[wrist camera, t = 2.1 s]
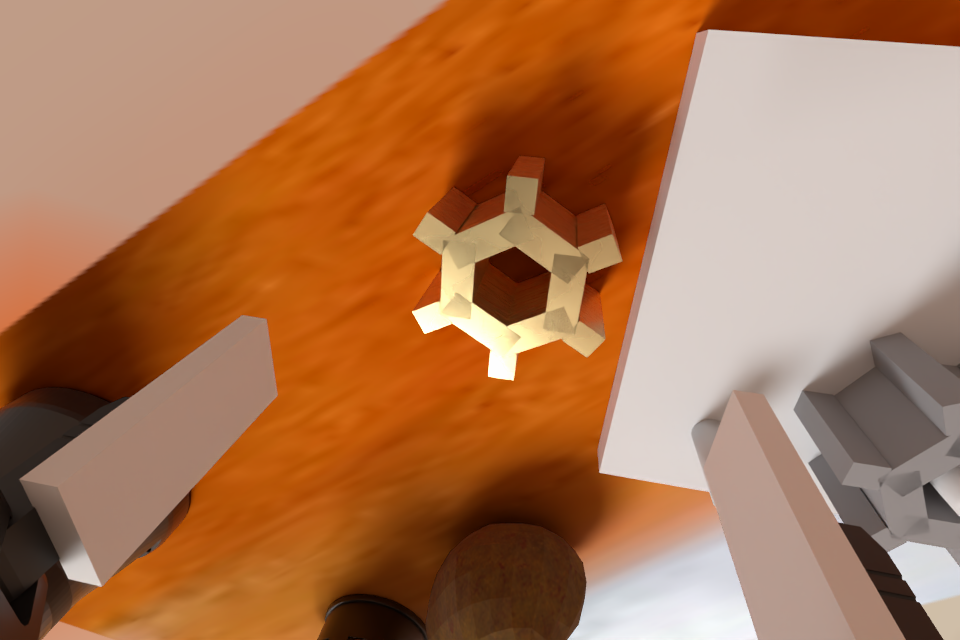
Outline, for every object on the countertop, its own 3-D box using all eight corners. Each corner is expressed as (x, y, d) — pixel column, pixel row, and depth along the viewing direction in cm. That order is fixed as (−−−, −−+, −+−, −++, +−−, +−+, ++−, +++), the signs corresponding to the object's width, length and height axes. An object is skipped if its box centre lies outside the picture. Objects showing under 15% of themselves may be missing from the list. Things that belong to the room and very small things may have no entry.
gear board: (597, 449, 30) (604, 555, 23) (696, 33, 20) (757, 14, 13) (957, 509, 28) (1076, 646, 21) (1277, 73, 18) (1701, 75, 11)
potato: (403, 527, 36) (357, 649, 29) (543, 476, 32) (533, 604, 24) (467, 598, 39) (441, 728, 31) (605, 559, 34) (615, 700, 27)
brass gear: (478, 345, 28) (460, 396, 24) (406, 209, 25) (370, 238, 21) (637, 290, 25) (651, 337, 21) (577, 128, 22) (577, 142, 18)
